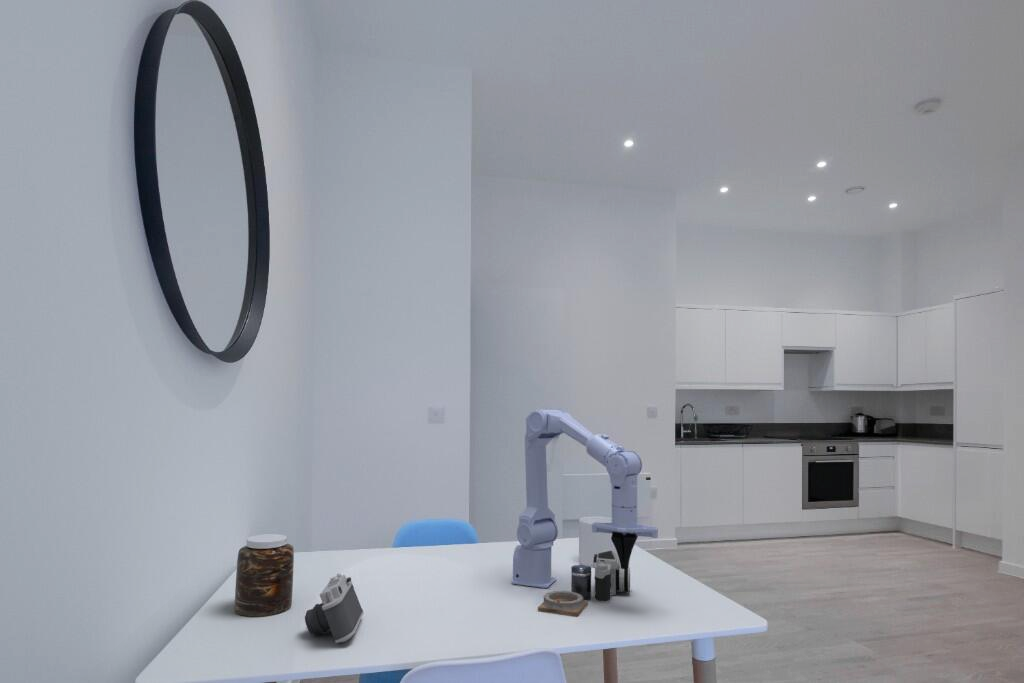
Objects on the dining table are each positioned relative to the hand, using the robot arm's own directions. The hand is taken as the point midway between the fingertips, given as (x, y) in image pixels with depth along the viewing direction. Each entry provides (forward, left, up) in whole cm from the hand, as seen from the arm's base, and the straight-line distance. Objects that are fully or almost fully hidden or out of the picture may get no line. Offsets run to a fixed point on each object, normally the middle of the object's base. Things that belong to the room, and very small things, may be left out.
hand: (624, 567), depth 136 cm
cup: (-14, +37, -9) cm, 41 cm away
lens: (-11, +4, -9) cm, 15 cm away
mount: (-13, -4, -9) cm, 16 cm away
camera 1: (-51, -36, -9) cm, 63 cm away
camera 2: (-5, +10, -9) cm, 15 cm away
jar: (-73, -31, -9) cm, 80 cm away
